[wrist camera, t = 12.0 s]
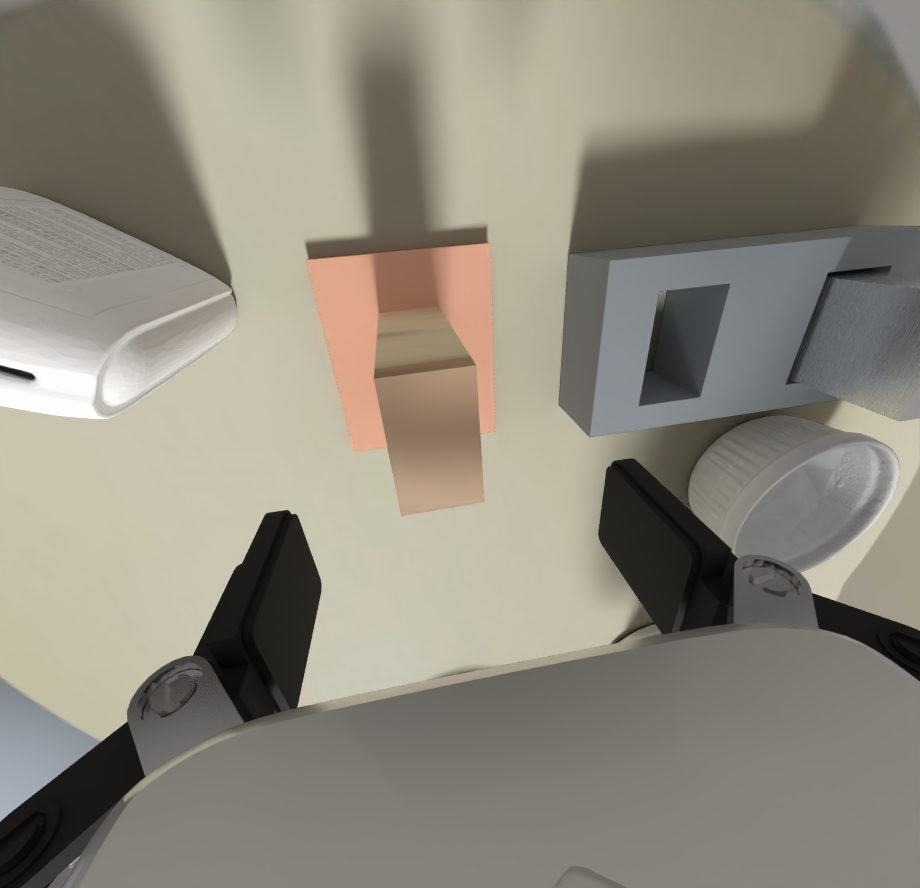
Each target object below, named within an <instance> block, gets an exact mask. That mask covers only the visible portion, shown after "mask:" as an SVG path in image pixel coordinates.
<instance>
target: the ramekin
mask: <svg viewBox="0 0 920 888" xmlns="http://www.w3.org/2000/svg"><path fill="white" fill-rule="evenodd" d="M899 473H900V467H899V461H898V458H897V456H896V454H895V453H894V451H893V450H892V449H891V448H890V447H889V446H887V445H885V444H884V443H882V442H880V441H878V440H876V439H874V438H872V437H869V436H867V435H864V434H860V433H852V432H844V431H841V430H838V429H835V428H832V427H829V426H826V425H823V424H819V423H816V422H813V421H810V420H806V419H803V418H799V417H792V416H786V415H781V416H778V415H774V416H767V417H763V418H758V419H754V420H751V421H748V422H745V423H743V424H740V425H738V426H736V427H734V428H733V429H731V430H729V431H728V432H726V433H725V434H723V435H722V436H721V437H720V438H718V439H717V440H716V441H715V442H714V443H713V444H712V445H711V446H710V447H709V448H708V449H707V450H706V451H705V452H704V453H703V455H702V456H701V457H700V459H699V460H698V462H697V464H696V465H695V467H694V469H693V472H692V474H691V477H690V481H689V491H688V499H689V505H690V507H691V510H692V512H693V514H694V515H696V516H697V517H698V518H699V519H700V520H701V521H702V522H703V523H704V524H705V525H706V526H707V527H709V528H710V529H711V530H712V531H713V532H714V533H715V534H716V535H717V536H718V537H719V538H720V539H721V540H723V541H724V542H725V543H726V544H727V545H728V546H729V547H730V548H731V549H732V551H731V552H732V553H733V554H734V555H735V556H736V557H737V558H738V559H739V558H740V557H742V556H745V555H762V556H767V557H771V558H774V559H777V560H779V561H782V562H784V563H785V564H787V565H789V566H791V567H793V568H794V569H795V570H797V571H798V572H799V573H801V572H803V571H806V570H808V569H811V568H813V567H815V566H817V565H819V564H821V563H823V562H825V561H827V560H829V559H830V558H832V557H833V556H835V555H837V554H838V553H840V552H841V551H843V550H844V549H845V548H847V547H848V546H849V545H851V544H852V543H853V542H854V541H856V540H857V539H858V538H859V537H860V536H861V535H862V534H863V533H864V532H866V531H867V530H868V529H869V528H870V527H871V525H872V524H873V523H874V522H875V521H876V520H877V519H878V517H879V516H880V515H881V513H882V512H883V511H884V509H885V508H886V506H887V505H888V503H889V502H890V500H891V498H892V496H893V494H894V492H895V489H896V486H897V483H898V479H899Z"/></svg>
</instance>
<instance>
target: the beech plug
mask: <svg viewBox="0 0 920 888" xmlns="http://www.w3.org/2000/svg"><path fill="white" fill-rule="evenodd" d="M374 383H375V388H376V393H377V398H378V403H379V408H380V413H381V418H382V423H383V428H384V433H385V438H386V442H387V447H388V452H389V457H390V462H391V467H392V472H393V477H394V482H395V487H396V492H397V497H398V502H399V507H400V512H401V516H404V515H410V514H416V513H422V512H428V511H434V510H440V509H446V508H452V507H457V506H463V505H469V504H475V503H481V502H484V491H483V473H482V456H481V438H480V420H479V403H478V385H477V368H476V364H475V362H474V361H473V359H472V358H471V356H470V355H469V353H468V351H467V350H466V348H465V347H464V345H463V344H462V342H461V341H460V339H459V337H458V336H457V334H456V333H455V331H454V330H453V328H452V327H451V325H450V323H449V322H448V320H447V319H446V317H445V316H444V314H443V313H442V311H441V309H440V308H439V306H437V307H428V308H419V309H410V310H401V311H392V312H384V313H379V315H378V328H377V341H376V354H375V367H374Z"/></svg>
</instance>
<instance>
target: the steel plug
mask: <svg viewBox="0 0 920 888" xmlns="http://www.w3.org/2000/svg"><path fill="white" fill-rule="evenodd" d="M788 379H790V380H792V381H795V382H798V383H800V384H803V385H805V386H808V387H811V388H813V389H816V390H818V391H821V392H824V393H826V394H829V395H831V396H834V397H837V398H839V399H842V400H844V401H847V402H850V403H852V404H855V405H858V406H860V407H863V408H865V409H868V410H871V411H873V412H876V413H878V414H881V415H884V416H886V417H889V418H891V419H894V420H897V421H905V420H911V419H917V418H920V275H915V274H904V273H894V272H884V271H873V270H863V269H855V270H846V271H837V272H828V274H827V277H826V279H825V282H824V285H823V287H822V290H821V292H820V295H819V298H818V300H817V303H816V306H815V308H814V311H813V313H812V316H811V319H810V321H809V324H808V327H807V329H806V332H805V334H804V337H803V340H802V342H801V345H800V347H799V350H798V353H797V355H796V358H795V361H794V363H793V366H792V368H791V371H790V374H789V376H788Z"/></svg>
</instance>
